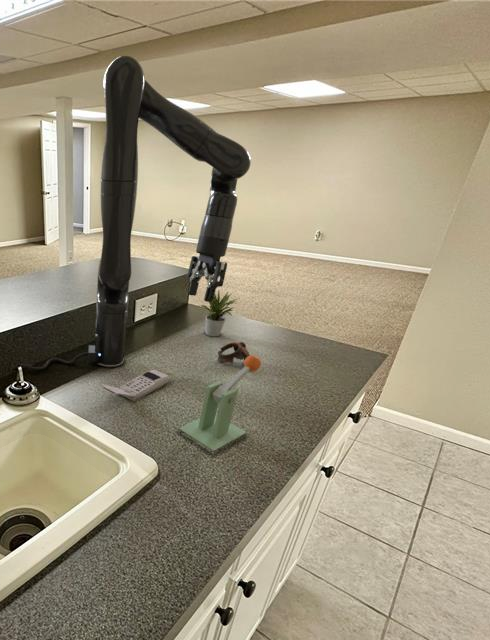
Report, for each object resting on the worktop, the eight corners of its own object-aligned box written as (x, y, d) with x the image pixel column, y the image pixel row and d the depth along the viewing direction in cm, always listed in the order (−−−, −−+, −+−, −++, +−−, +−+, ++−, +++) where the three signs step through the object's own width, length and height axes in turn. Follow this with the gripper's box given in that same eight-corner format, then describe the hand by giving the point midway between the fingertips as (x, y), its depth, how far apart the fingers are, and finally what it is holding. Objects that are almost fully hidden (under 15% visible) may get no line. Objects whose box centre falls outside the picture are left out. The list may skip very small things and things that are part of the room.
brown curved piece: (249, 376, 121) (241, 354, 118) (219, 380, 128) (210, 359, 124) (258, 353, 129) (250, 332, 125) (229, 357, 135) (221, 337, 132)
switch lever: (250, 360, 94) (249, 350, 92) (264, 366, 92) (263, 355, 89) (211, 400, 91) (208, 390, 89) (224, 407, 88) (222, 397, 86)
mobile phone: (100, 384, 102) (159, 356, 117) (98, 404, 105) (156, 374, 120) (117, 394, 98) (176, 363, 113) (116, 414, 101) (173, 381, 116)
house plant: (226, 346, 140) (236, 300, 132) (188, 336, 146) (195, 292, 138) (237, 333, 150) (247, 290, 142) (200, 325, 157) (208, 283, 149)
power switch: (210, 417, 101) (220, 372, 95) (245, 437, 94) (258, 390, 88) (178, 433, 95) (186, 386, 88) (212, 455, 88) (224, 406, 81)
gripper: (188, 232, 110) (175, 292, 116) (217, 236, 97) (201, 302, 103) (212, 235, 112) (198, 294, 118) (243, 239, 99) (226, 304, 105)
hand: (199, 298), depth 110 cm, fingers open, 8 cm apart
